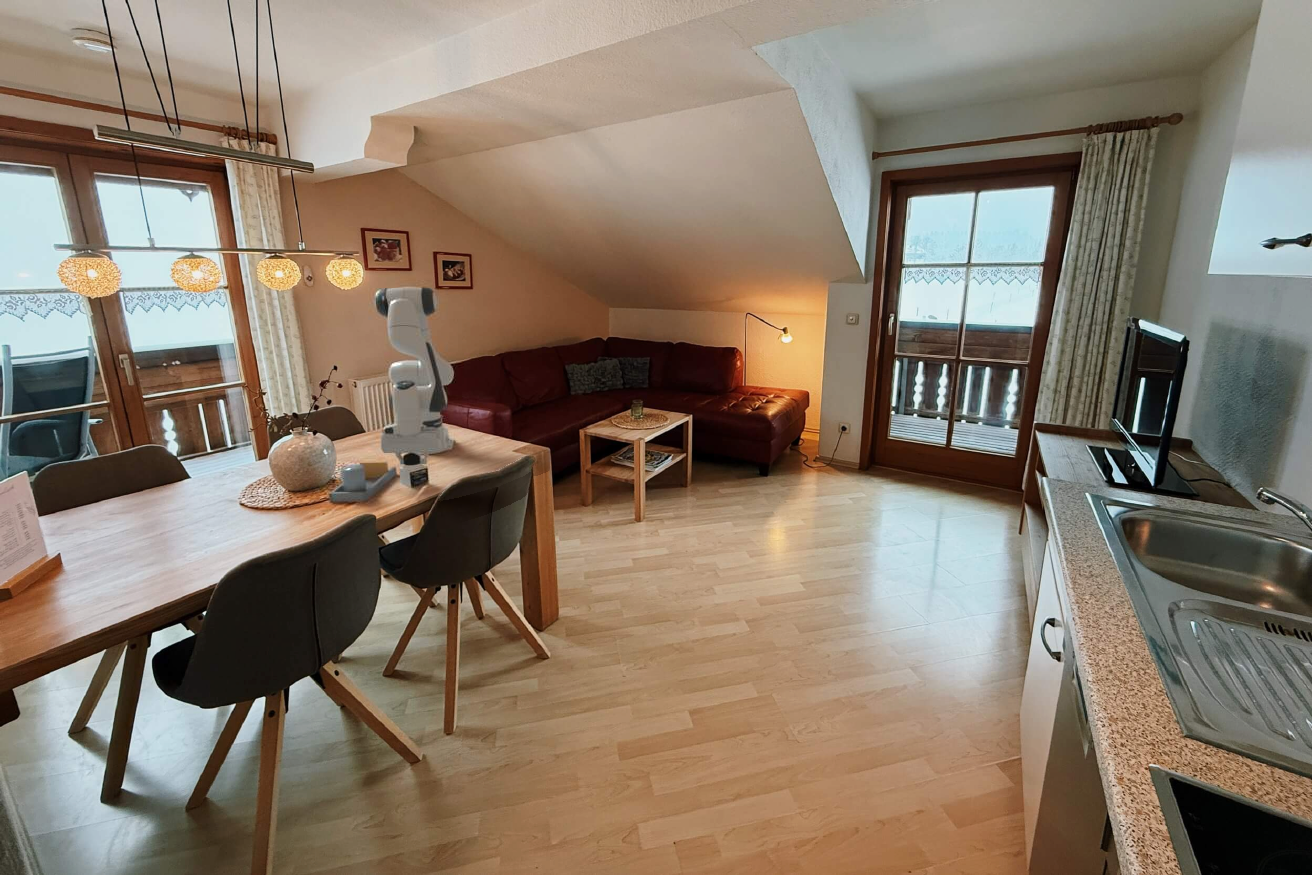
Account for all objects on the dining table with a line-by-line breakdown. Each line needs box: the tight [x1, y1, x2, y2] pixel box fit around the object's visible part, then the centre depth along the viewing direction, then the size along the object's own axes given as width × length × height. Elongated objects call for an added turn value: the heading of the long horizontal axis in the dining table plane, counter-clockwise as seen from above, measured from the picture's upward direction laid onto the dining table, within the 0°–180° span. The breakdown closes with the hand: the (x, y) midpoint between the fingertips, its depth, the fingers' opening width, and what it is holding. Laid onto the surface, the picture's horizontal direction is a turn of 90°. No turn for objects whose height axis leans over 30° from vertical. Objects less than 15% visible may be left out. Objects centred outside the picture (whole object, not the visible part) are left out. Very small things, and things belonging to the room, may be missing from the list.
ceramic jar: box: [340, 464, 367, 492], centre depth 196 cm, size 7×7×10 cm
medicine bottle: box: [398, 453, 430, 489], centre depth 208 cm, size 7×7×12 cm
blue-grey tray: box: [328, 466, 398, 503], centre depth 204 cm, size 26×12×4 cm, turn 3°
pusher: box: [359, 461, 389, 478], centre depth 212 cm, size 1×9×6 cm, turn 93°
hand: (413, 463), depth 208 cm, fingers open, 6 cm apart
